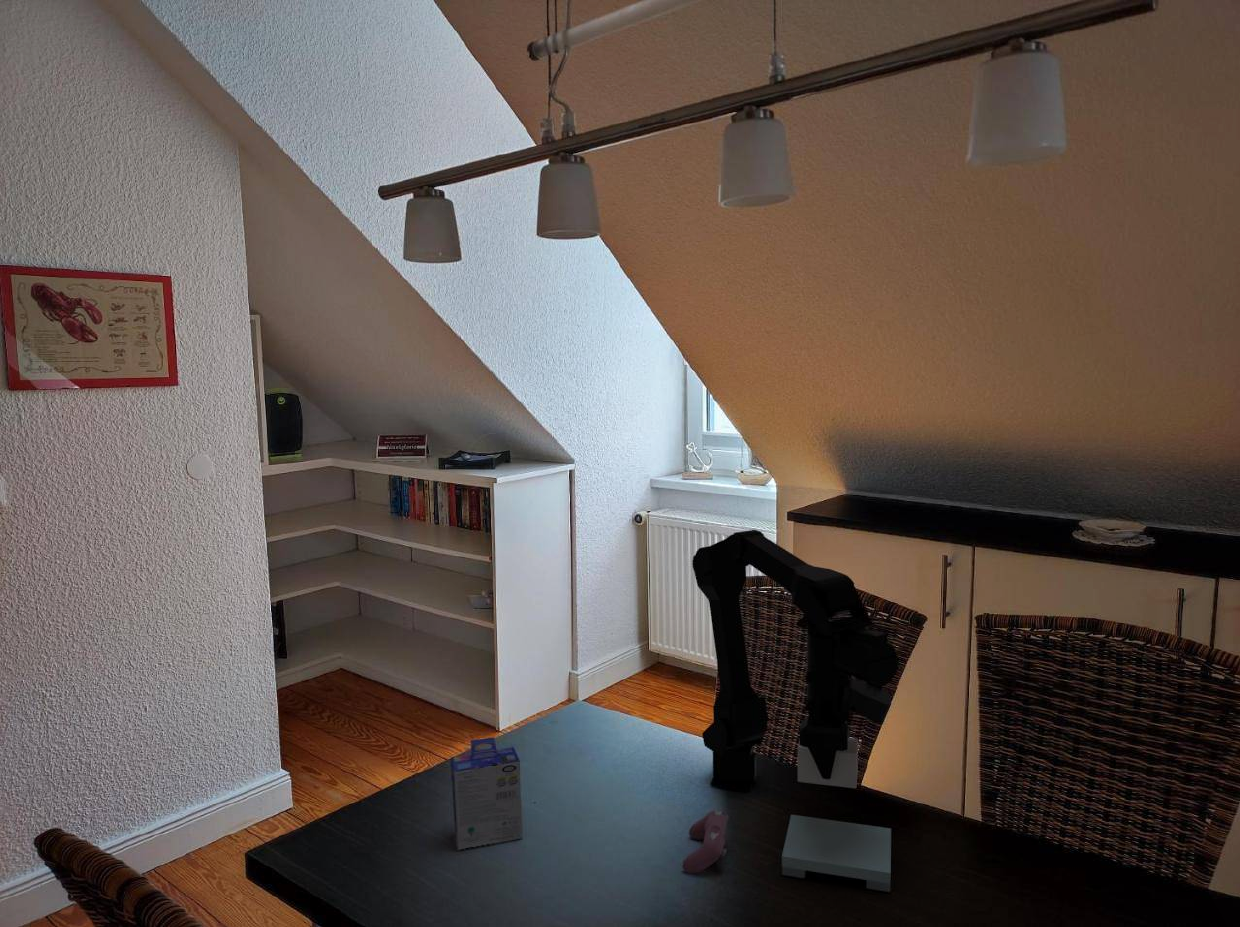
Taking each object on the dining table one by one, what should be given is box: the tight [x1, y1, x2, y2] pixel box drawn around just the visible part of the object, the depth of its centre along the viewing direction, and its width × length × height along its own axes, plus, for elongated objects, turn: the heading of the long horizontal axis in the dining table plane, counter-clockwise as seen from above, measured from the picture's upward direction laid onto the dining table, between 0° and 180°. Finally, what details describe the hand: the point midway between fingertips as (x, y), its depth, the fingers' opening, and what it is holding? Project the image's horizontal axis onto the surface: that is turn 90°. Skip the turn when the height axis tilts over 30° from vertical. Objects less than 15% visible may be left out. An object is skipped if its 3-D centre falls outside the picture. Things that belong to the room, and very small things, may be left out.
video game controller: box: [682, 808, 730, 874], centre depth 122 cm, size 10×5×7 cm, turn 169°
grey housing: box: [797, 737, 859, 789], centre depth 123 cm, size 5×8×6 cm, turn 73°
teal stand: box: [781, 814, 892, 893], centre depth 120 cm, size 14×11×3 cm
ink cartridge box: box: [449, 737, 524, 851], centre depth 128 cm, size 10×6×14 cm, turn 108°
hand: (827, 769), depth 123 cm, fingers closed on grey housing, 5 cm apart
